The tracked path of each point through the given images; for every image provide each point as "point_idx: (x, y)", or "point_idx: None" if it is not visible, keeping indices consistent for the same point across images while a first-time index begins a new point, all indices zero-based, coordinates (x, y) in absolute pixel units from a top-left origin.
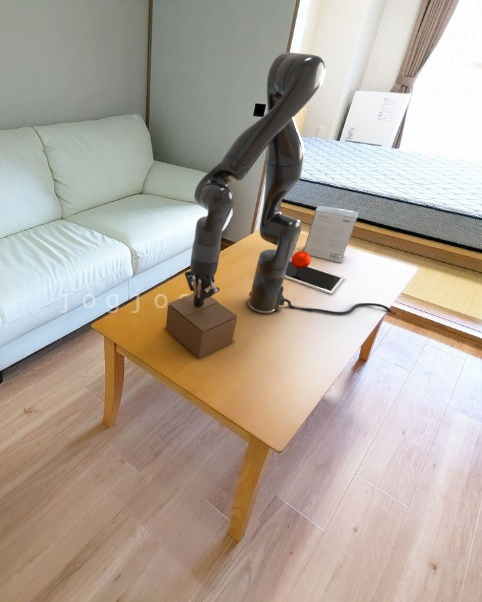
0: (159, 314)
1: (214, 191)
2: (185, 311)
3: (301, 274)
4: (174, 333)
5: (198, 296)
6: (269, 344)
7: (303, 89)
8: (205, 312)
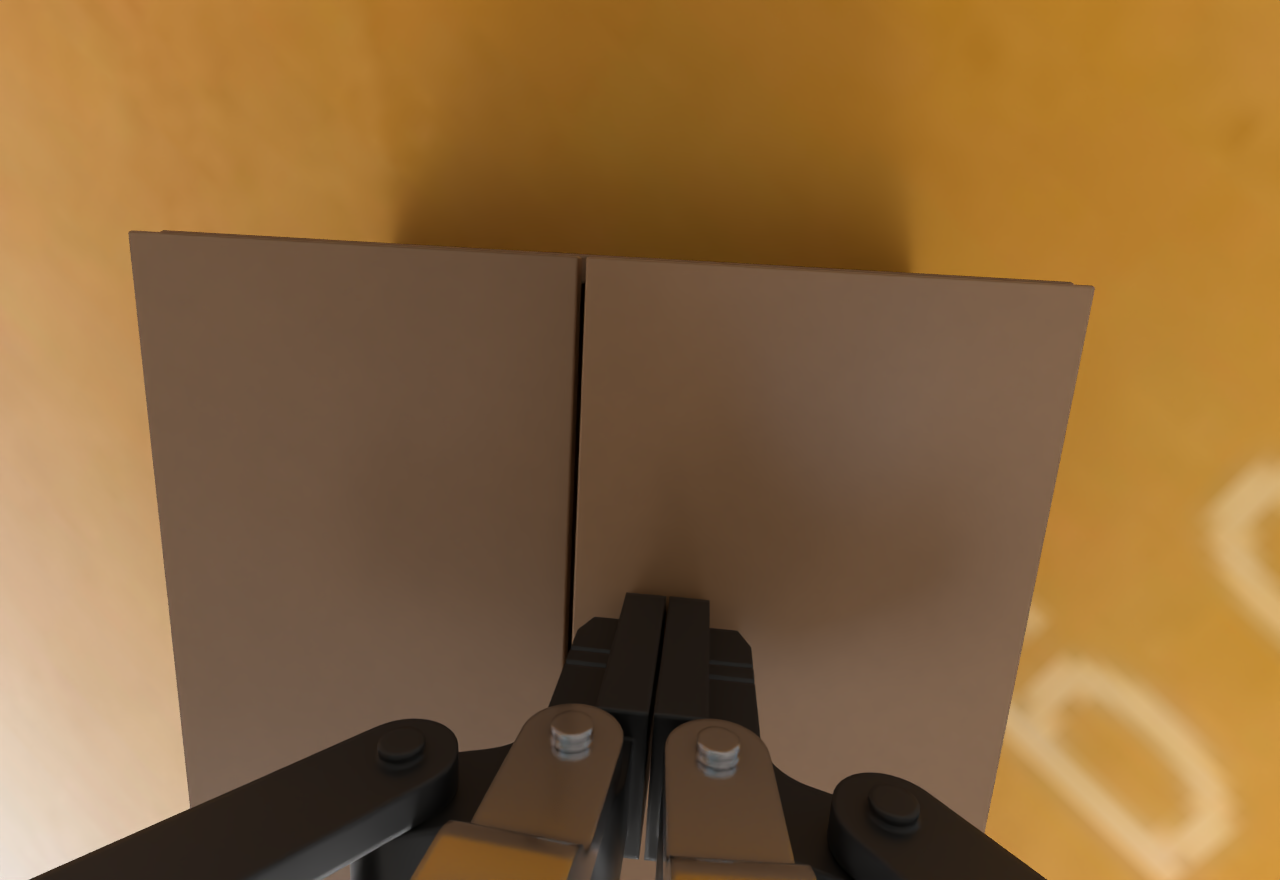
0: (1155, 393)
1: None
2: (672, 362)
3: None
4: None
5: (560, 728)
6: None
7: None
8: (473, 610)
